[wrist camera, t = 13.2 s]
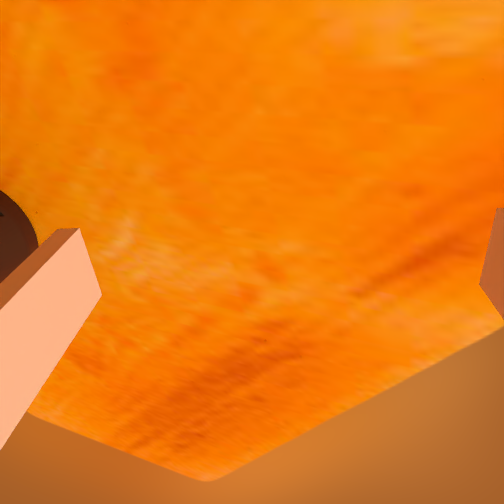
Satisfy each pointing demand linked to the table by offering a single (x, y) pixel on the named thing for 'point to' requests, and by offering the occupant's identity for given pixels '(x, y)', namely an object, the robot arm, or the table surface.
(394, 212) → the table surface
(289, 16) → the table surface
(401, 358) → the table surface
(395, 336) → the table surface
